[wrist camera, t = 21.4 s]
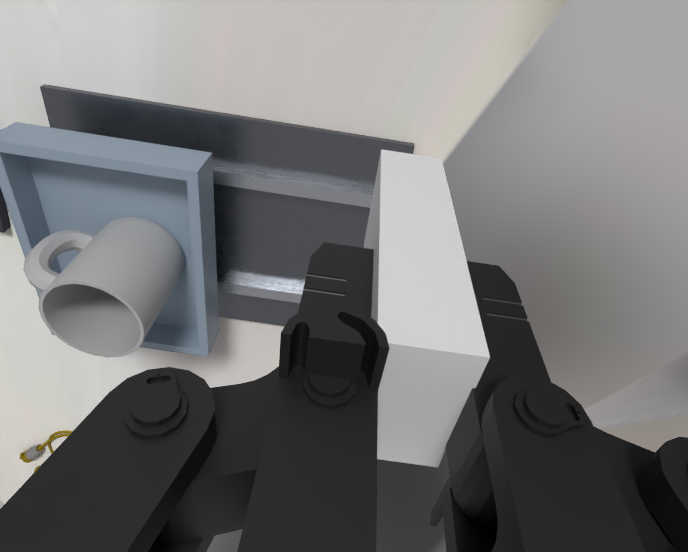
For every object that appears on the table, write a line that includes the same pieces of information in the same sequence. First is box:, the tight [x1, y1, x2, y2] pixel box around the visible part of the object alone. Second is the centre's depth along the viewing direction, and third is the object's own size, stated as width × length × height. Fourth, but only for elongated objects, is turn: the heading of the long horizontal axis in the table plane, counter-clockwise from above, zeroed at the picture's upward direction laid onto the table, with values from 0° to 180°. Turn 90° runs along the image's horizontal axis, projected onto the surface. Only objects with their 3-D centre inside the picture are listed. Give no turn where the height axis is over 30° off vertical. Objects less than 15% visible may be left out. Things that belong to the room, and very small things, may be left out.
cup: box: [23, 217, 184, 357], centre depth 35 cm, size 7×10×9 cm
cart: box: [0, 122, 219, 356], centre depth 39 cm, size 15×19×6 cm
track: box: [40, 85, 414, 326], centre depth 43 cm, size 30×22×2 cm
